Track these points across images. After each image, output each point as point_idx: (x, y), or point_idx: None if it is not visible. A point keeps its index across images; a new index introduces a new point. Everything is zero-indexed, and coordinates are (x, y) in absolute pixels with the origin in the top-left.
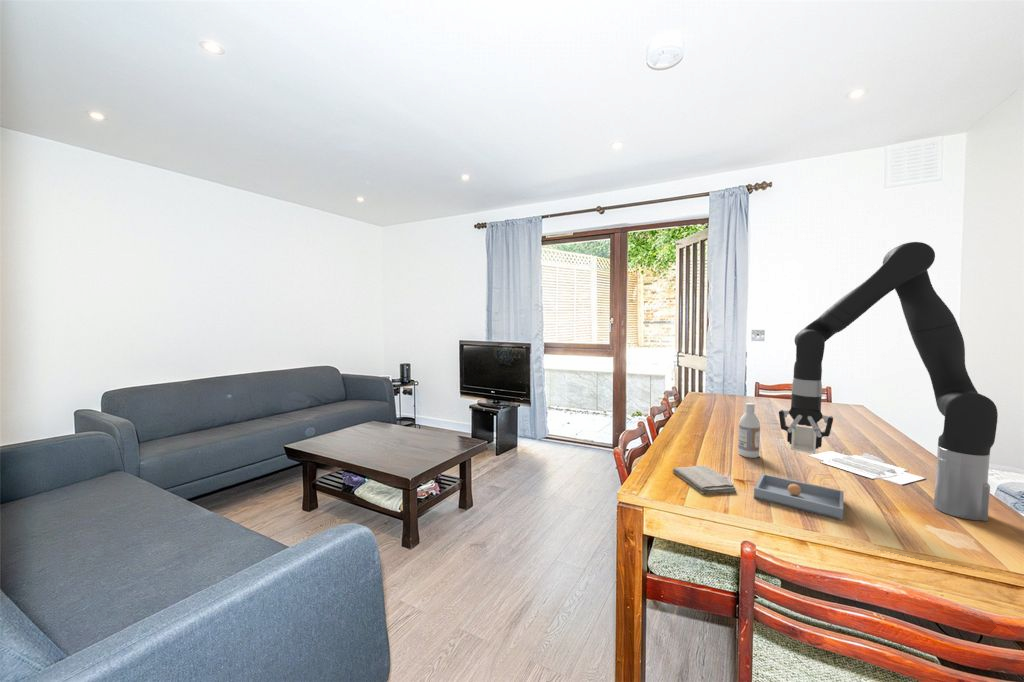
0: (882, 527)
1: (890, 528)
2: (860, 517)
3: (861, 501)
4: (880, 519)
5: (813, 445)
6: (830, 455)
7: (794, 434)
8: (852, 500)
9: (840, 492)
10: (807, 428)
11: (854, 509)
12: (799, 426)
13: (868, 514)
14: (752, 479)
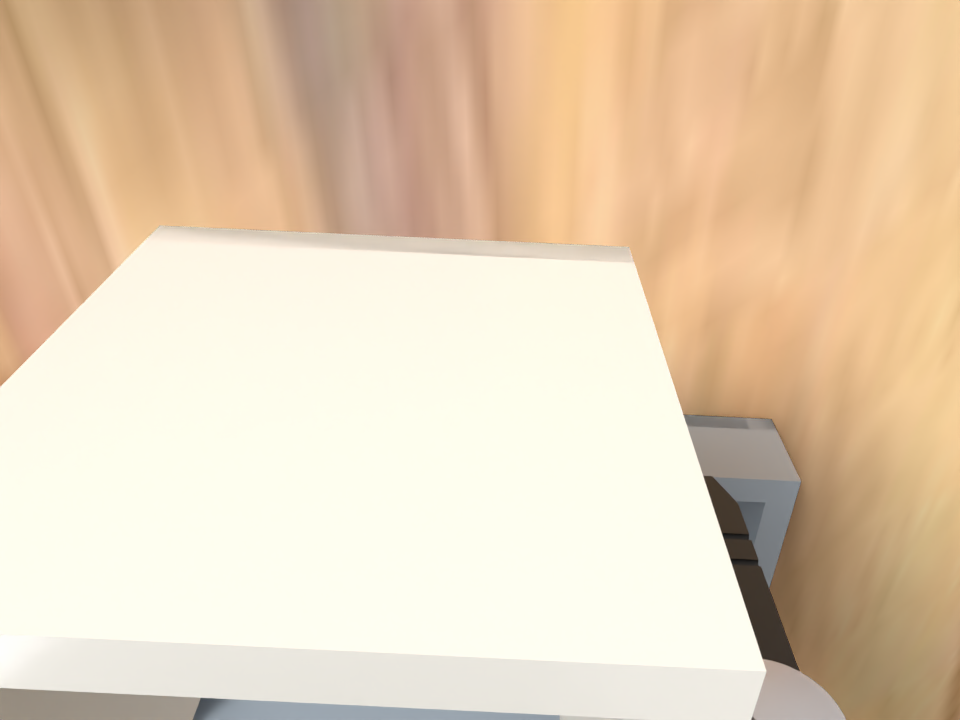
0: (908, 684)
1: (954, 675)
2: (818, 623)
3: (939, 325)
4: (948, 589)
5: (560, 718)
6: None
7: (110, 707)
8: (862, 347)
9: (764, 524)
10: (367, 662)
11: (818, 522)
12: (33, 684)
13: (894, 553)
14: (24, 353)
